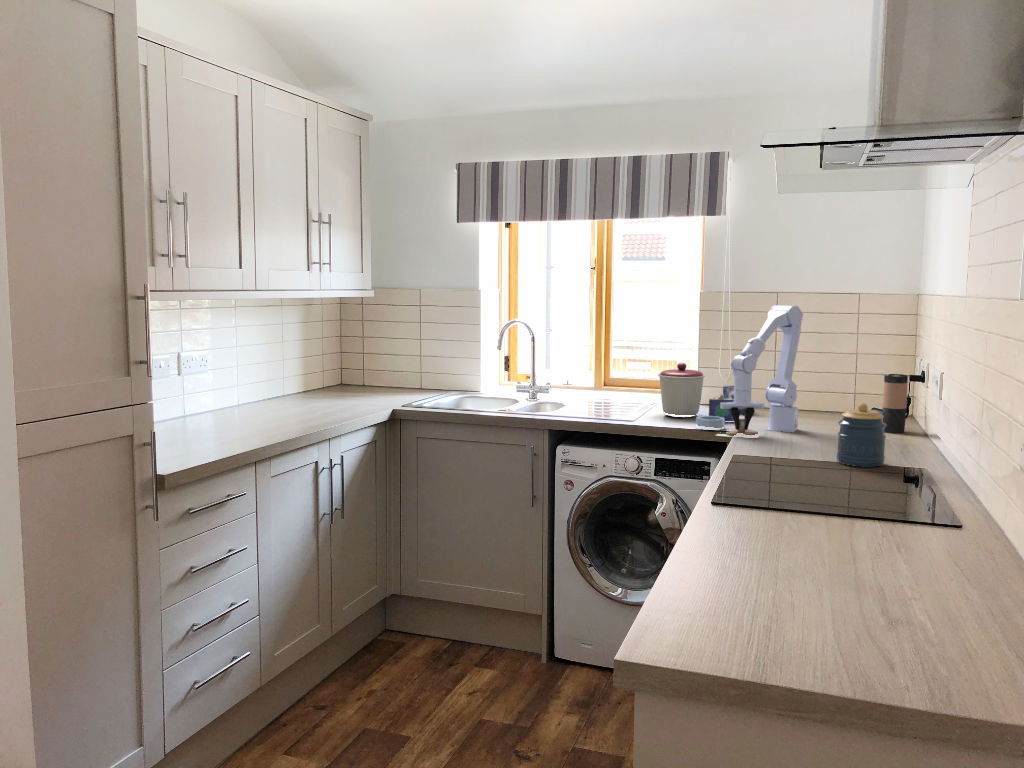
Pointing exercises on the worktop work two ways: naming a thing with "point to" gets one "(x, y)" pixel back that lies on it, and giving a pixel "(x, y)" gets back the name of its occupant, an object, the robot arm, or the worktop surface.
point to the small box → (730, 395)
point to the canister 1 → (681, 390)
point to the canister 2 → (861, 437)
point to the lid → (741, 429)
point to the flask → (717, 411)
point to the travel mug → (895, 402)
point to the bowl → (710, 421)
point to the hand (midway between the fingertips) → (741, 429)
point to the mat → (723, 435)
